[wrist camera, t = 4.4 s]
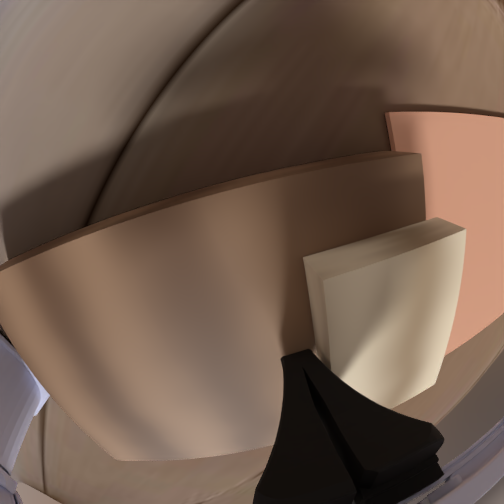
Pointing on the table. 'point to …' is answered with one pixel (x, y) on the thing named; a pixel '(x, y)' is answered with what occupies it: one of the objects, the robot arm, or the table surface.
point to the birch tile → (387, 308)
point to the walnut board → (195, 303)
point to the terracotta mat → (463, 201)
